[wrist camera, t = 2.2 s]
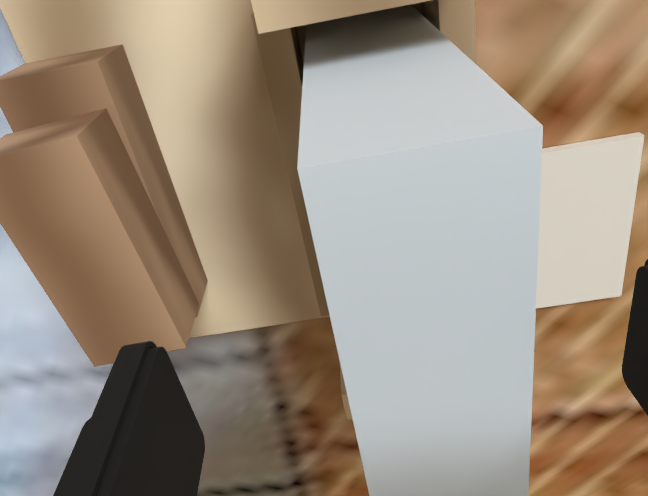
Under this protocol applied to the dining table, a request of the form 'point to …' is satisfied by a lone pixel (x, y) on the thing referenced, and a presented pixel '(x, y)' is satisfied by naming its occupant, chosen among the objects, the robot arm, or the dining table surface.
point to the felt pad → (586, 218)
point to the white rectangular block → (424, 251)
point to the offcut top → (93, 236)
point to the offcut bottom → (127, 115)
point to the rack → (226, 128)
